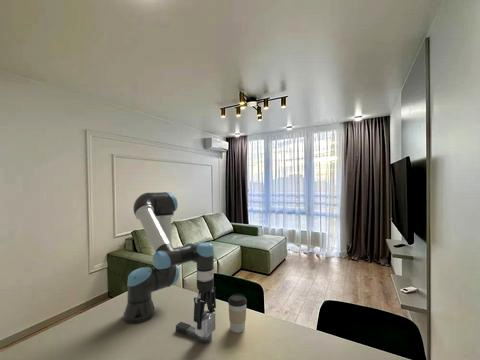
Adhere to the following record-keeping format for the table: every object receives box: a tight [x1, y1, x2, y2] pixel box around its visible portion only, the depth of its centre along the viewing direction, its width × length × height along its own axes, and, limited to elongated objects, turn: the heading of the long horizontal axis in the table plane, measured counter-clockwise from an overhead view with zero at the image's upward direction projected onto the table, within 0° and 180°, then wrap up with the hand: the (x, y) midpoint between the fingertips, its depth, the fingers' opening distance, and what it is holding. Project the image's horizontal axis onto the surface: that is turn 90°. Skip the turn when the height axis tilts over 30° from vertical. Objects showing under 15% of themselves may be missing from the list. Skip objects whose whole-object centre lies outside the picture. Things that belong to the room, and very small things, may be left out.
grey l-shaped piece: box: [175, 321, 213, 345], centre depth 103 cm, size 18×6×8 cm, turn 64°
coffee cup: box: [227, 292, 248, 334], centre depth 109 cm, size 9×9×15 cm
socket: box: [194, 309, 216, 337], centre depth 101 cm, size 6×6×8 cm
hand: (205, 331), depth 101 cm, fingers closed on socket, 6 cm apart
